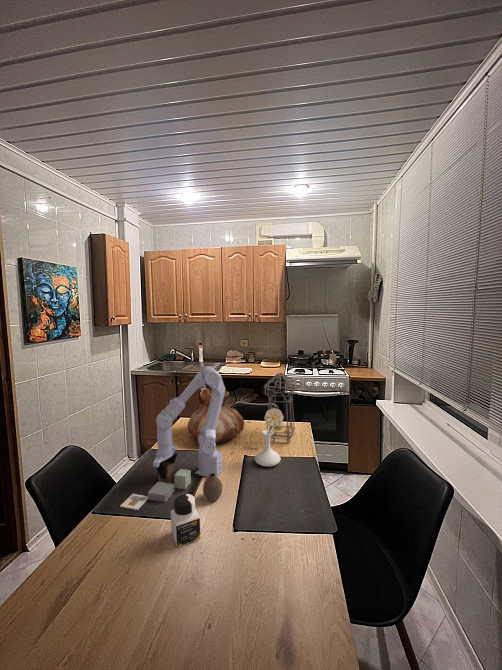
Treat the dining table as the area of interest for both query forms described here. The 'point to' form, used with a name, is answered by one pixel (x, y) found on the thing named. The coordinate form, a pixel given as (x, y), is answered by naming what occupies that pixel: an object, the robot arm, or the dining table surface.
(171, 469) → the walnut block
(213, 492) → the brown coconut
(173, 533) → the medicine bottle
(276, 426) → the flower in vase
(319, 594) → the dining table surface
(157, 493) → the grey square block
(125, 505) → the card
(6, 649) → the dining table surface
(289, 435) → the geometric lantern
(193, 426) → the jug
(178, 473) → the sage block
